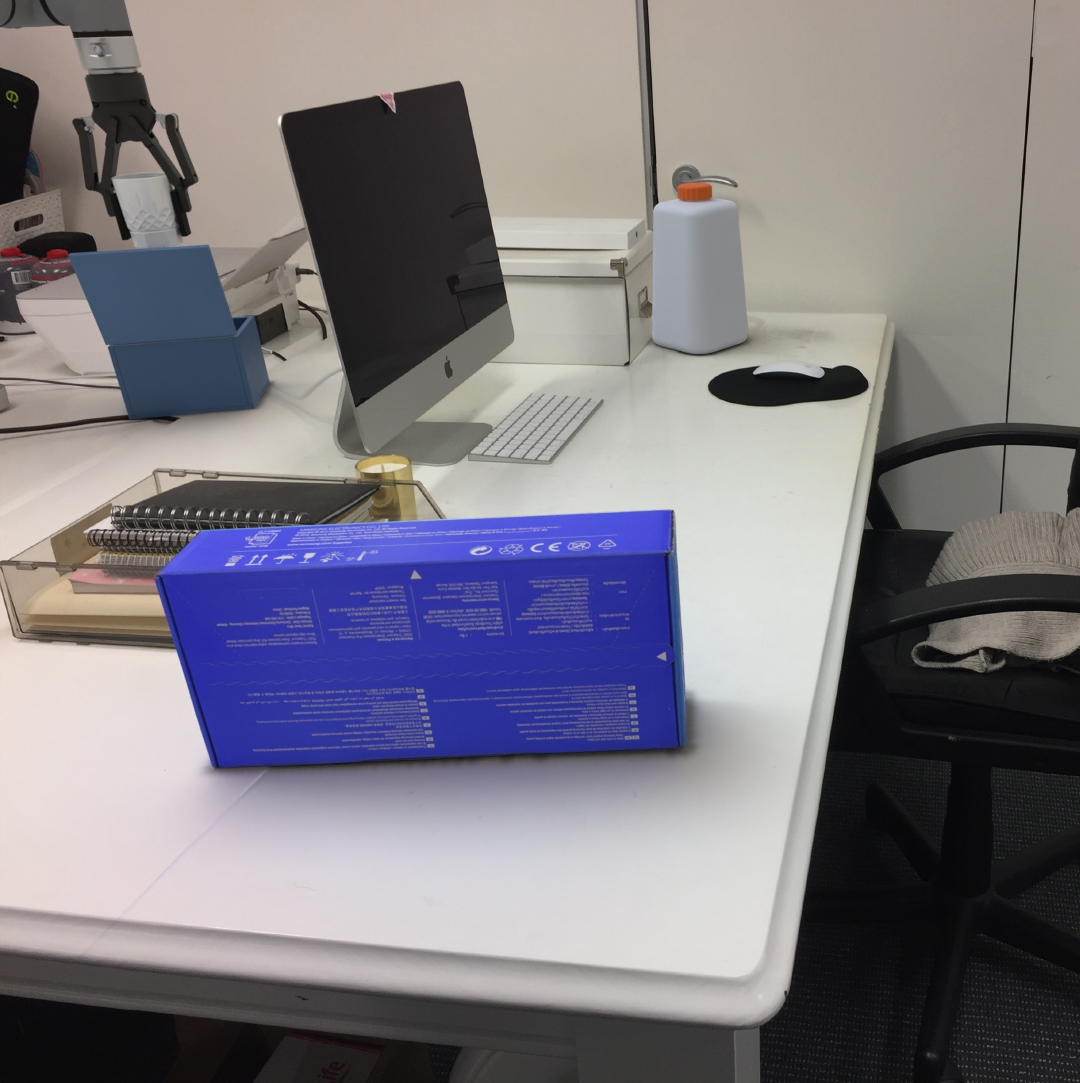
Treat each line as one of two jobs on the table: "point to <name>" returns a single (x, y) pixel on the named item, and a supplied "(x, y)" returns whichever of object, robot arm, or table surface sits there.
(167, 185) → the white cup
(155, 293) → the case lid
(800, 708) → the table surface
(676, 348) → the plastic bottle
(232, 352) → the case
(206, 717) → the blue cardboard box
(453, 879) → the table surface
